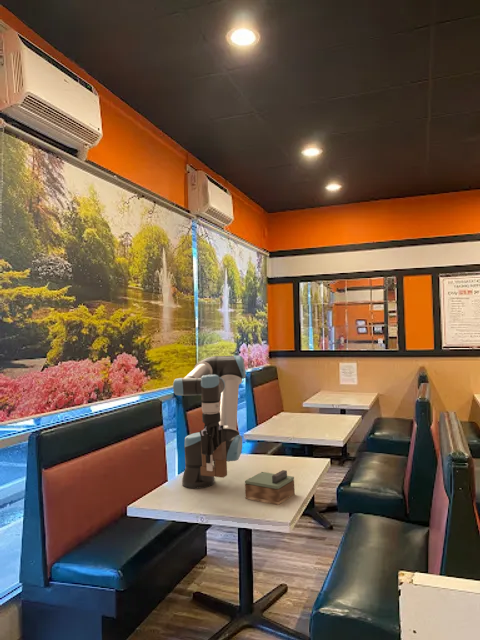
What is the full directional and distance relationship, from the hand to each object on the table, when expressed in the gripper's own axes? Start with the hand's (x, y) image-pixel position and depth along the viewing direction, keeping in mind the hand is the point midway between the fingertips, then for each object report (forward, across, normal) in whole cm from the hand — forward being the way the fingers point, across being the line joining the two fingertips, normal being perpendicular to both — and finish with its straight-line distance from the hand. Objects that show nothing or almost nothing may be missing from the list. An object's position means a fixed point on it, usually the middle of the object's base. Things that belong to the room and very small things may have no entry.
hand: (213, 469), depth 204 cm
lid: (+8, +18, -16) cm, 25 cm away
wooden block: (+3, 0, 0) cm, 3 cm away
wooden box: (+14, +18, -16) cm, 28 cm away
